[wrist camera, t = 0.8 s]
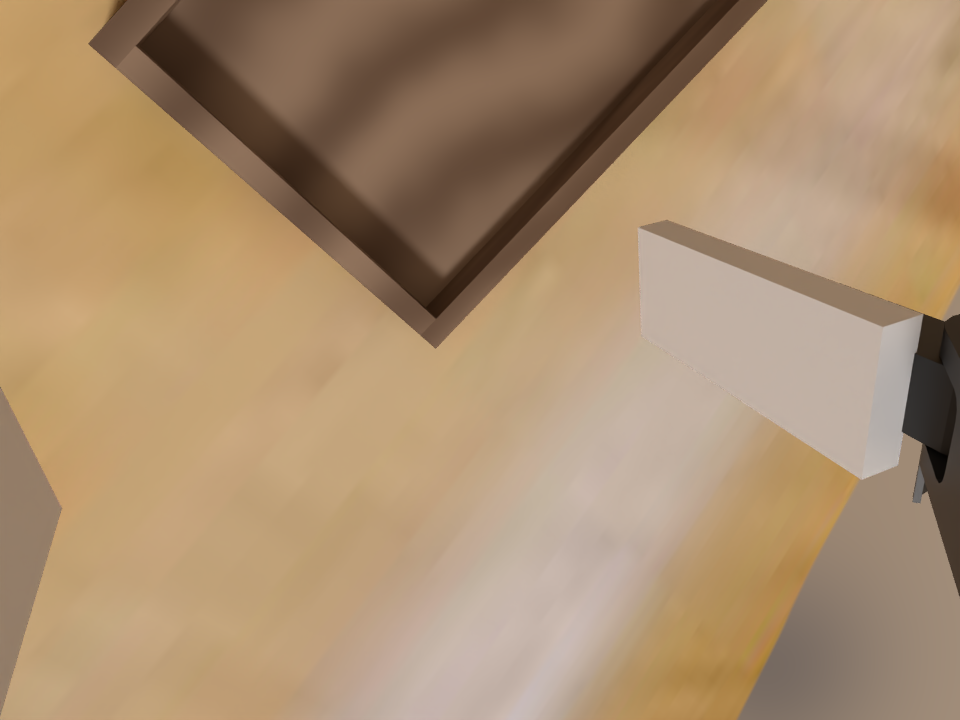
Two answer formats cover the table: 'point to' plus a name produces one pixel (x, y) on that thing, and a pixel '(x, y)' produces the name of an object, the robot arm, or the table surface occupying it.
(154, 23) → the tray
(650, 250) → the robot arm
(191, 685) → the table surface
